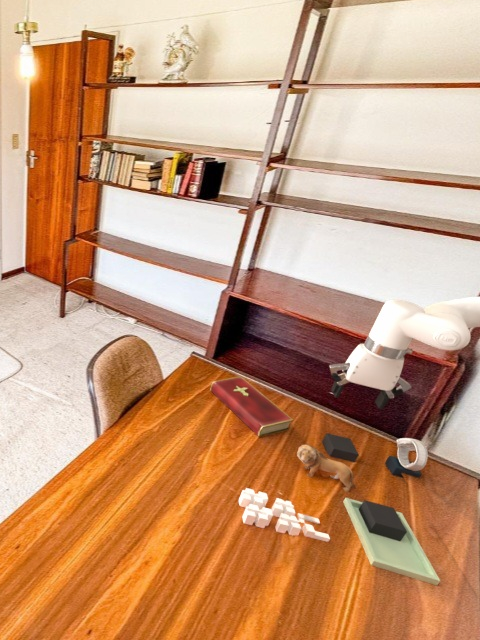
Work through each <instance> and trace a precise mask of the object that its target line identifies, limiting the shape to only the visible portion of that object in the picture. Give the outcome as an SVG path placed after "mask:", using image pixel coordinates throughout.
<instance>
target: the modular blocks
mask: <svg viewBox="0 0 480 640" xmlns="http://www.w3.org/2000/svg"><path fill="white" fill-rule="evenodd" d="M268 501H269V497H268V494H267V492H264V491H263V492H262V491H258V492H257V493H255V489H251V488H248V487H245V489H242V491H241V493H240V496H239V498H238V504H239V507H241V508H243V509H244V508H245V509H244V511H243V514H242V516H241V518H242V522H243V524H245V525H249V526H253V524H254V525H255V527H257V528H261V529H265V527H269V525H270V523H271V521H272V519H273V517H276V518H278V519H277V520H276V524H275V526H274V529H275V532H276V533H280V534H286V533H288V536H292V537H295V536H299V534H300V533H301V531H302V533H303V536H304V537H306V538H307V537H308V538H311V539H315V540H319V541H323V542H326V543H329V542H330V541H331V537H330V535H329V534H328V533H325V532H321V531H318V530H315V528H314V525H313V524H309V523H306V522H305V521H307V522H310V523H314V524H317V525H320V524H321V522H320V519H319V518H317V517H314V516H311V515H307V514H303V513H300V512H296V510H295V505H293V504H292V503H293V502H292V501H290V500H284V499H282V498H279V497H275V501H274V503H273V504H272V506H271V508H268V507H266V506H267V503H268ZM296 515H297V516H296ZM300 523H301V524H303V526H301V524H300Z"/></svg>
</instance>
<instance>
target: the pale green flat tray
mask: <svg viewBox="0 0 480 640" xmlns="http://www.w3.org/2000/svg"><path fill="white" fill-rule="evenodd" d="M362 503H363V501H361V500H360V501H359V500H356V499H352V498H349V497H345V498H344V499H343V505H344V507H345V509H346V512H347V514H348V516H349V519H350V521H351V523H352V526H353V527H354V530H355V532H356V534H357V537H358V539H359V541H360V543H361V546H362V548H363V550H364V553H365V555H366V557H367V559H368V562H369V565H370V566H372V567H376V568H379V569H383V570H386V571H389V572H391V573H395V574H398V575H402V576H404V577H409V578H412V579H414V580H418V581H421V582H424V583H428V584H430V585H434V586H438V585H439V584H440V583H441V578H440V577H439V576H438V573H437V572H436V570H435V569H434V567H433V564H432V563H431V561H430V560H429V557H427V555H426V553H425V551H424V549H423V547H422V546H421V544H420V542H419V541H418V539H417V537H416V535H415V534H414V531H413V530H412V528H411V527H410V525H409V523H408V521H407V520H406V517H405V516H404V513H403V512H400V511H396V513H397V514H398V516H399V518H400V520H401V522H402V523H403V525H404V527H405V529H406V531H407V533H406V534H405V536H404V537H403V538H402V540H401V541H397V540H394V539H390V538H387V537H383V536H380V535H376V534H373V533H369V531H368V529H367V527H366V524H365V522H364V520H363V518H362V516H361V514H360V512H359V508H360V506H361V505H362Z"/></svg>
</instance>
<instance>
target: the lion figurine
mask: <svg viewBox="0 0 480 640" xmlns="http://www.w3.org/2000/svg"><path fill="white" fill-rule="evenodd" d="M296 456H297V458H298V459H299V460H300V461H301V462H302V464H303V465H304V466H303V468H304V469H305V470H309V472H308V473H306V476H307V477H310V478H313V477H314V475H315V473H316V472H317V471H318V470H320V471H323V472H327V473H331V474H330V475H329V477H330V478H331V479H333V480H340V482H341V483H342V484H343V485H344V487H342V490H344V491H345V492H348V493H349V492H350V491H351V488H352V489H353V488H354V489H355V488H356V485H355V484H353V483H354V480H355V479H354V478H355V477H354V473H353V471H352V469H351V468H350V466H348V465H347V464H345V463H344V462H342V461H338V460H334V459H330V458H328V457H326V456H325V455H324V453H323V452H321V451H320V450H318V449H317V448H316V447H314V446H312V445H309V444H301V445H300V446H299V447H298V450H297V452H296ZM333 473H335V475H333ZM349 478H350V479H349Z"/></svg>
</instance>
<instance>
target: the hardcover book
mask: <svg viewBox="0 0 480 640" xmlns="http://www.w3.org/2000/svg"><path fill="white" fill-rule="evenodd" d="M209 387H210V388H209V390H210V392H212V394H213V395H214V396H215V397H217V398H218V399H219V400H220V401H221V402H222V403H223V404H224V405H225V406H226V407H227V408H228V409H229V410H230V411H231V412H232V413H233V414H234V415H236V417H238V419H240V421H242V422H243V423H244V424H245V425H246V426H247V427H248V428H249V429H250V430H251V431H252V432H253V433H254V434H255V435H256V436H257V437H259V438H260V437H261V438H262V437H265V436H270V435H274V434H277V433H282V432H286V431H290V430H291V428H290V427H289V426H290V424H291V422H294V418H292V417H291V416H290V415H288V413H286V412H285V411H283V409H282V408H280V407H278V405H277V404H276V403H274V402H273V401H271V400H270V399H269V398H268V397H267V396H266V395H264V394H263V393H262V392H261V391H260V390H258V388H256V387H255V386H254V385H252V384H251V383H249V381H247V380H246V379H245V378H244V377H242V376H241V375H240V376H235V377H229V378H224V379H218V380H213V381H212V382H211V384H210V386H209Z"/></svg>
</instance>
